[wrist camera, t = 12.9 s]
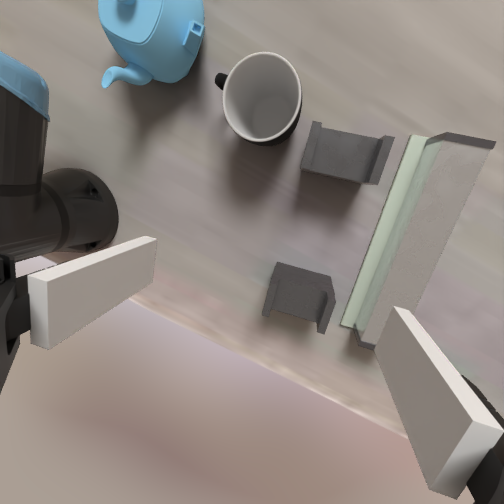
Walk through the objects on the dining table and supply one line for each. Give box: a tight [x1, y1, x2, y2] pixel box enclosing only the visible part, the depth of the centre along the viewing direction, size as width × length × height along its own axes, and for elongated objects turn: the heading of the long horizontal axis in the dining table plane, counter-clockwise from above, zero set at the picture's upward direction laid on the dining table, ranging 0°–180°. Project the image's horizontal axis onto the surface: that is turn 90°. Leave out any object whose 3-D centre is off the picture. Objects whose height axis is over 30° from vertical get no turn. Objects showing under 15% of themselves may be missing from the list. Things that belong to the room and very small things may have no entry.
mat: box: [340, 134, 429, 328], centre depth 39 cm, size 9×30×1 cm, turn 167°
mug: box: [215, 52, 302, 146], centre depth 33 cm, size 12×9×10 cm
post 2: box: [300, 121, 395, 185], centre depth 33 cm, size 9×5×10 cm, turn 77°
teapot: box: [98, 0, 205, 88], centre depth 33 cm, size 15×14×11 cm
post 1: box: [262, 262, 336, 334], centre depth 39 cm, size 9×5×10 cm, turn 77°
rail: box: [353, 132, 496, 350], centre depth 36 cm, size 30×5×5 cm, turn 167°
